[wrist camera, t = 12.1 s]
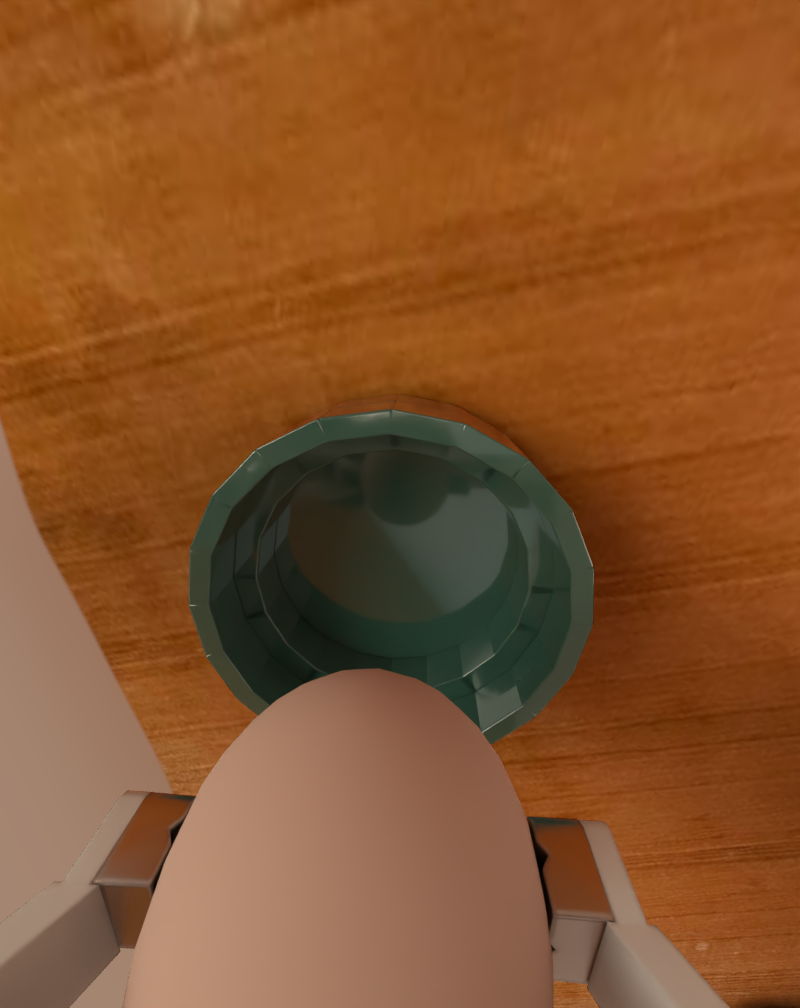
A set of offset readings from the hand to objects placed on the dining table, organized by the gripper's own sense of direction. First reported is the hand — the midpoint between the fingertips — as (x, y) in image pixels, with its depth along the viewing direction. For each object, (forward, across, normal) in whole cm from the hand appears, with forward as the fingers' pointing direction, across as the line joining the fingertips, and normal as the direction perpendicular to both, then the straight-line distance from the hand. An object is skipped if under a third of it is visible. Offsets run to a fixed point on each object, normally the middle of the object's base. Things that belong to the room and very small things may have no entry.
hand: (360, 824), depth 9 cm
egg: (+3, 0, 0) cm, 3 cm away
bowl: (+12, 0, 0) cm, 12 cm away
